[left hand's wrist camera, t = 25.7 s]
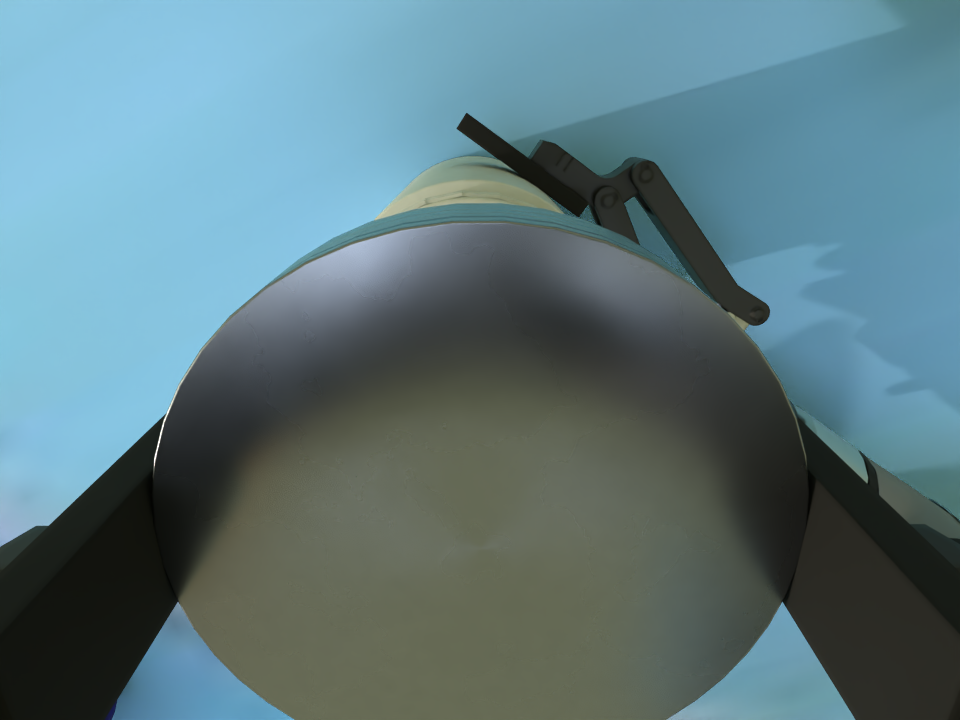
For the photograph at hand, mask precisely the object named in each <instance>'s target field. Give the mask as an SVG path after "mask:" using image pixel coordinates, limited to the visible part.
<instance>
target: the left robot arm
mask: <svg viewBox="0 0 960 720" xmlns="http://www.w3.org/2000/svg"><path fill="white" fill-rule="evenodd" d="M165 416H166V414H165V415H164V416H163V417H162V418H161V419H160V420H159V421H158V422H157V423H156V424H155V425H154V426H153V427H152V428H151V429H150V430H148V431H147V432H146V433H145V434H144V435H143V436H142V437H141V438H140V439H139V440H138V441H137V442H136V443H135V444H134V445H133V446H132V447H131V448H130V449H129V450H128V451H127V452H125V453H124V454H123V455H122V456H121V457H120V458H119V459H118V460H117V461H116V462H115V463H114V464H113V465H112V466H111V467H110V468H109V469H108V470H107V471H106V472H105V473H104V474H102V475H101V476H100V477H99V478H98V479H97V480H96V481H95V482H94V483H93V484H92V485H91V486H90V487H89V488H88V489H87V490H86V491H85V492H84V493H83V494H82V495H81V496H79V497H78V498H77V499H76V500H75V501H74V502H73V503H72V504H71V505H70V506H69V507H68V508H67V509H66V510H65V511H64V512H63V513H62V514H61V515H60V516H59V517H58V518H56V519H55V520H54V521H53V522H52V523H51V524H50V525H49V526H35V527H34V528H32V529H30V530H28V531H27V532H25V533H23V534H22V535H20V536H18V537H16V538H15V539H13V540H11V541H10V542H8V543H6V544H4V545H3V546H1V547H0V720H105V718H106V717H107V715H108V714H109V712H110V710H111V709H112V707H113V705H114V704H115V702H116V701H117V699H118V697H119V696H120V694H121V693H122V691H123V689H124V688H125V686H126V684H127V683H128V681H129V680H130V678H131V676H132V675H133V673H134V672H135V670H136V668H137V667H138V665H139V663H140V662H141V660H142V659H143V657H144V655H145V654H146V652H147V651H148V649H149V647H150V646H151V644H152V642H153V641H154V639H155V638H156V636H157V634H158V633H159V631H160V630H161V628H162V626H163V625H164V623H165V621H166V620H167V618H168V617H169V615H170V613H171V612H172V610H173V609H174V607H175V605H176V604H177V602H178V600H177V599H176V596H175V594H174V592H173V589H172V587H171V584H170V582H169V579H168V577H167V574H166V572H165V569H164V567H163V563H162V558H161V554H160V550H159V546H158V542H157V538H156V533H155V529H154V519H153V507H152V483H153V469H154V457H155V453H156V449H157V445H158V441H159V437H160V433H161V429H162V424H163V420H164V418H165ZM796 418H797V422H798V426H799V429H800V433H801V437H802V441H803V445H804V449H805V453H806V461H807V472H808V484H809V503H808V517H807V526H806V531H805V535H804V539H803V543H802V548H801V552H800V556H799V560H798V564H797V568H796V571H795V573H794V576H793V578H792V581H791V584H790V586H789V589H788V591H787V594H786V596H785V598H784V599H783V603H784V605H785V606H786V608H787V610H788V611H789V613H790V614H791V616H792V618H793V619H794V621H795V622H796V624H797V626H798V627H799V629H800V631H801V632H802V634H803V635H804V637H805V639H806V640H807V642H808V643H809V645H810V647H811V648H812V650H813V652H814V653H815V655H816V656H817V658H818V660H819V661H820V663H821V664H822V666H823V668H824V669H825V671H826V673H827V674H828V676H829V677H830V679H831V681H832V682H833V684H834V685H835V687H836V689H837V690H838V692H839V694H840V695H841V697H842V698H843V700H844V702H845V703H846V705H847V706H848V708H849V710H850V711H851V713H852V715H853V716H854V718H855V719H856V720H960V544H959V543H957V542H955V541H953V540H952V539H950V538H948V537H947V536H945V535H943V534H941V533H940V532H938V531H936V530H934V529H933V528H931V527H929V526H928V525H926V524H909V523H908V522H907V521H906V520H905V519H904V518H903V517H902V516H901V515H900V514H899V513H898V512H897V511H896V510H895V509H894V508H892V507H891V506H890V505H889V504H888V503H887V502H886V501H885V500H884V499H883V498H882V497H881V496H880V495H879V494H878V493H877V492H876V491H875V490H874V489H873V488H872V487H870V486H869V485H868V484H867V483H866V482H865V481H864V480H863V479H862V478H861V477H860V476H859V475H858V474H857V473H856V472H855V471H854V470H853V469H852V468H851V467H850V466H849V465H847V464H846V463H845V462H844V461H843V460H842V459H841V458H840V457H839V456H838V455H837V454H836V453H835V452H834V451H833V450H832V449H831V448H830V447H829V446H828V445H827V444H826V443H824V442H823V441H822V440H821V439H820V438H819V437H818V436H817V435H816V434H815V433H814V432H813V431H812V430H811V429H810V428H809V427H808V426H807V425H806V424H805V423H804V422H803V421H801V420H800V419H799V418H798V417H797V416H796Z"/></svg>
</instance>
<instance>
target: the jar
mask: <svg viewBox="0 0 960 720" xmlns="http://www.w3.org/2000/svg"><path fill="white" fill-rule="evenodd" d="M456 203H504V204H511V205H519V206H527V207H534V208H542V209H547V210H551V211H554V212H558V213H562V214H564V213H563V212H562V210H561V209H560V208H559V207H558V206H557V205H556V204H555V203H554V202H553V201H552V200H551V198H550V197H549V196H548V195H547V194H546V193H544V192H543V191H541V190H540V189H539V188H537V187H536V186H535V185H533V184H532V183H530V182H529V181H528V180H526V179H525V178H524V177H522V176H521V175H519V174H518V173H517V172H515V171H514V170H513V169H511V168H510V167H508V166H507V165H506V164H504V163H503V162H502V161H500V160H497V159H493V158H489V157H481V156H465V157H458V158H453V159H450V160H446V161H443V162H441V163H438V164H436V165H434V166H432V167H430V168H429V169H427V170H426V171H424V172H422V173H421V174H420V175H419V176H418V177H416V178H415V179H414V180H413V181H412V182H411V183H410V184H409V185H408V186H407V187H406V188H405V189H404V190H403V191H402V192H401V193H400V194H399V195H398V196H397V197H396V198H395V199H394V200H393V201H392V202H391V203H390V204H389V205H388V206H387V207H386V208H385V209H384V210H383V211H382V212H381V213H380V214H379V215H378V216H377V217H376V218H375V220H378V219H381V218H385V217H388V216H392V215H395V214H399V213H403V212H406V211H410V210H413V209H420V208H427V207H434V206H441V205H449V204H456Z"/></svg>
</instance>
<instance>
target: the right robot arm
mask: <svg viewBox="0 0 960 720" xmlns="http://www.w3.org/2000/svg"><path fill="white" fill-rule="evenodd" d="M457 129H458V130H459V131H460V132H462V133H463V134H464V135H466V136H467V137H469V138H470V139H471V140H473V141H474V142H475V143H477V144H478V145H480V146H481V147H482V148H484V149H485V150H486V151H488V152H489V153H491V154H492V155H493V156H495V157H496V158H497V159H499V160H500V161H502V162H503V163H504V164H506V165H507V166H508V167H510V168H511V169H513V170H514V171H515V172H517V173H518V174H519V175H521V176H522V177H524V178H525V179H526V180H528V181H529V182H530V183H532V184H533V185H535V186H536V187H537V188H539V189H540V190H541V191H543V192H544V193H546V194H547V195H548V196H550V197H551V198H552V199H554V200H555V201H557V202H558V203H559V204H561V205H562V206H563V207H565V208H566V209H568V210H569V211H570V212H572V213H573V214H574V215H576V216H577V217H579V216H580V215H581V213H582V212H583V211H584V209H585V208H586V207H587V205H589V208H590V210H591V213H592V215H593V218H594V220H595V223H596V225H599V226H601V227H603V228H606V229H608V230H610V231H613V232H615V233H618V234H620V235H622V236H625V237H626V238H628V239H630V240H631V241H633V242H635V243H636V244H638V245H640V244H639V242H638V239H637V236H636V234H635V231H634V228H633V226H632V223H631V220H630V218H629V215H628V212H627V210H626V207H625V205H624V203H625V202H626V201H628V200H629V199H631V198H632V197H633V196H635V198H636V199H637V201H638V202H639V203H640V205H641V206H642V208H643V209H644V211H645V212H646V214H647V215H648V216H649V218H650V219H651V221H652V222H653V224H654V225H655V226H656V228H657V229H658V231H659V232H660V234H661V235H662V236H663V238H664V239H665V241H666V242H667V244H668V245H669V246H670V248H671V249H672V251H673V252H674V254H675V255H676V257H677V258H678V259H679V261H680V262H681V264H682V265H683V267H684V268H685V269H686V271H687V272H688V274H689V275H690V277H691V278H692V279H693V281H694V282H695V283H696V285H697V286H698V287H699V288H700V289H701V290H702V291H703V292H704V293H705V294H707V295H708V296H709V297H710V299H712V300H713V301H714V302H715V303H716V304H718V305H719V306H720V307H721V308H722V309H724V310H725V311H726V312H727V313H729V315H730V316H731V317H732V318H733V319H734V320H735V321H736V322H737V323H738V325H739V326H740V327H741V328H742V329H743V330H745V329H746V328H747V327H748V325H749V324H750V325H753V326H758V325H761V324H763V323H764V322H765V321H766V320H767V319H768V317H769V315H770V309H769V306H768V305H767V304H766V303H764V302H763V301H761V300H760V299H758V298H757V297H755V296H753V295H752V294H750V293H749V292H747V291H746V290H744V289H743V288H741V287H740V286H738V285H737V283H736V282H735V280H734V279H733V277H732V276H731V274H730V273H729V271H728V270H727V268H726V267H725V265H724V264H723V262H722V261H721V259H720V258H719V256H718V255H717V254H716V252H715V251H714V249H713V248H712V246H711V245H710V243H709V242H708V240H707V239H706V237H705V236H704V234H703V233H702V231H701V230H700V228H699V227H698V225H697V224H696V222H695V221H694V219H693V218H692V216H691V215H690V213H689V212H688V210H687V209H686V207H685V206H684V204H683V203H682V201H681V200H680V198H679V197H678V196H677V194H676V193H675V191H674V190H673V188H672V187H671V185H670V184H669V182H668V181H667V179H666V178H665V176H664V175H663V173H662V172H661V170H660V169H659V167H658V166H657V165H656V164H655V163H654V162H652V161H649V160H645V159H641V158H637V157H631V158H628V159H627V160H625V161H624V162H623V164H622V165H621V166H620V167H618V168H617V169H616V170H614V171H613V172H611V173H609V174H607V175H604V176H599V175H596V174H595V173H594V172H592V171H591V170H590V169H588V168H587V167H586V166H584V165H583V164H582V163H580V162H579V161H578V160H576V159H575V158H574V157H572V156H571V155H570V154H568V153H567V152H566V151H564V150H563V149H562V148H560V147H559V146H558V145H556V144H555V143H552V142H547V141H543V140H540V141H539V142H538V144H537V145H536V147H535V148H534V150H533V151H532V153H531V154H530V156H529V157H528V158H527V157H526V156H525V155H523V154H522V153H521V152H519V151H518V150H516V149H515V148H514V147H512V146H511V145H510V144H508V143H507V142H506V141H504V140H503V139H502V138H500V137H499V136H497V135H496V134H495V133H493V132H492V131H491V130H489V129H488V128H487V127H485V126H484V125H483V124H481V123H480V122H478V121H477V120H476V119H474V118H473V117H472V116H470V115H469V114H468V113H466V114H465V116H464V118H463V119H462V121H461V122H460V124H459V126H458V127H457ZM789 402H790V401H789ZM790 404H791V406H792V409H793V411H794V413H795V415H796V416H797V417H798V418H799V419H800V420H801V421H803V422H804V423H805V424H806V425H807V426H808V427H809V428H810V429H811V430H812V431H813V432H814V433H815V434H816V435H817V436H818V437H819V438H820V439H821V440H822V441H823V442H824V443H826V444H827V445H828V446H829V447H830V448H831V449H832V450H833V451H834V452H835V453H836V454H837V455H838V456H839V457H840V458H841V459H842V460H843V461H844V462H845V463H846V464H847V465H849V466H850V467H851V468H852V469H853V470H854V471H855V472H856V473H857V474H858V475H859V476H860V477H861V478H862V479H863V480H864V481H865V482H866V483H867V484H868V485H869V486H870V487H872V488H873V489H874V490H875V491H876V492H877V493H878V494H879V495H880V496H881V497H882V498H883V499H884V500H885V501H886V502H887V503H888V504H889V505H890V506H891V507H892V508H894V509H895V510H896V511H897V512H898V513H899V514H900V515H901V516H902V517H903V518H904V519H905V520H906V521H907V522H908V523H909V524H926V525H928V526H929V527H931V528H933V529H934V530H936V531H938V532H940V533H941V534H943V535H945V536H947V537H948V538H950V539H952V540H953V541H955V542H957V543H959V544H960V520H958V519H957V518H956V517H955V516H953V515H952V513H951V512H950V511H949V510H948V509H946V508H945V507H943V506H942V505H940V504H939V503H937V502H936V501H934V500H932V499H927V498H926V497H925V496H923V495H922V494H920V493H919V492H917V491H916V490H915V489H913V488H912V487H910V486H909V485H907V484H906V483H904V482H903V481H901V480H900V479H898V478H897V477H895V476H894V475H892V474H891V473H889V472H888V471H886V470H885V469H883V468H882V467H881V466H879V465H878V464H876V463H875V462H873V461H872V460H870V459H869V458H867V457H866V456H865V455H864V454H863V453H862V452H860V451H859V450H858V449H857V448H855V447H854V446H853V445H851V444H850V443H848V442H847V441H846V440H844V439H843V438H841V437H840V436H839V435H837V434H836V433H834V432H833V431H832V430H830V429H829V428H828V427H826V426H825V425H823V424H822V423H821V422H819V421H818V420H816V419H815V418H814V417H812V416H811V415H809V414H808V413H807V412H805V411H804V410H802V409H800V408H799V407H797V406H794V405H793V404H792V403H791V402H790Z"/></svg>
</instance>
